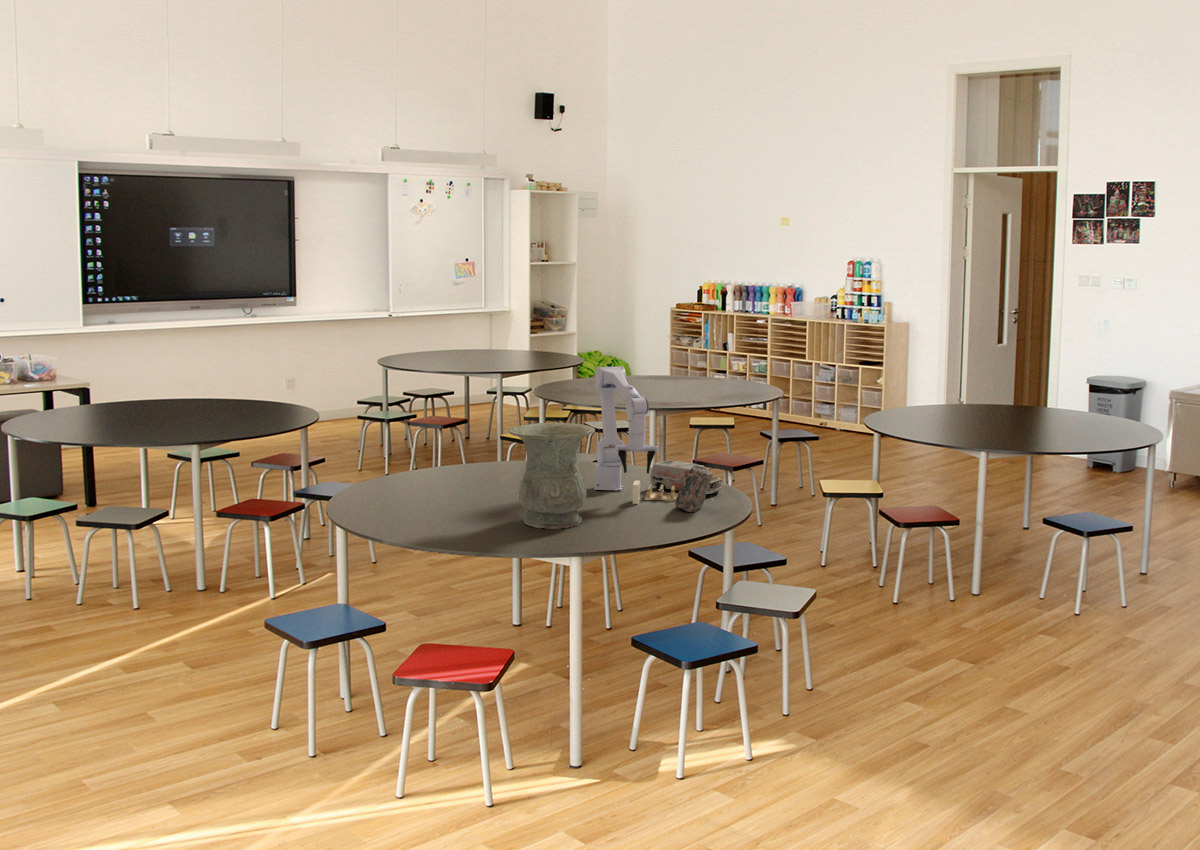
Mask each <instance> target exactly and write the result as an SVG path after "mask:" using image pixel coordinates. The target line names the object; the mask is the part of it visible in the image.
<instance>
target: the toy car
mask: <svg viewBox="0 0 1200 850" xmlns="http://www.w3.org/2000/svg"><path fill="white" fill-rule="evenodd" d="M694 465H699V466H701V467H704V468H706V466H704V465H703V464H702V465H701V464H697V463H692V462H685V461H679V460H670V459H669V460H667V459H666V460H664V461H659V462H655V463H654V464H653V465H652V467H651V471H650V473H649V474H650V477H649V478H650V479H649V480H650V483H649V485H650V484H652V487H656V490H657V489H660V487H661V484H663V485H664V491H666V490H667V491H668V490H671V489H672V486H673V485H675V491H679V490H680V489H681V487H682V485H683V483H684V481H685V479H686V478H687V476H688V474H689V472H690V470H691V468H692V467H693V466H694ZM720 490H722V478H720V476H715V475H713V477H712V479H711V482H710V484H709V487H708V489H707V493H706V495H708V494H709V495H710V494H714V495H715V494H716V495H717V494H719V492H720ZM667 491H666V492H667Z"/></svg>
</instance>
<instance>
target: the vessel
mask: <svg viewBox="0 0 1200 850" xmlns="http://www.w3.org/2000/svg"><path fill="white" fill-rule="evenodd" d="M595 432H596V429H595V427H593V426H590V425H588V424H582V423H570V422H539V423H537V422H536V423H532V424H531V423H530V424H522V425H516V426H513V427H510V428H508V433H509V434H510V435H512V436H515V437H518V438H520V440H522V442H523V445H524V447H525V452H526V464H525V471H524V473H523V474H524V475H523V477H522V479H521V480H520V486H519V490H518V501H519V503H520V504H521V506H522V508H524V509H525V510H527V513H526V515H524V517H522V519H523V520H522V521H523V524H525V525H526V526H528V527H531V526H532V527H533V528H536V529H541V528H545V529H544V530H562V529H561V528H565V529H570V528H569V527H571V528H574V527H573V526H575V527H577V525H578V526H580V525H581V524H582V523H583V518H582V516H581V515H580V514H578V513H579V512H578V510H579V509H581V508H582V507H583V506H584V505H585V504H586V501H587V489H586V484H585V480H584V479H583V477H582V475H581V472H580V469H579V462H578V451H579V446H580V444H581V443H580V442H581V441H582V440H583V439H584V438H585V437H587V436H590V435H592V434H594V433H595ZM581 522H582V523H581ZM580 523H581V524H580ZM579 524H580V525H579ZM532 527H531V528H532Z"/></svg>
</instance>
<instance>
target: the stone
mask: <svg viewBox="0 0 1200 850" xmlns="http://www.w3.org/2000/svg"><path fill="white" fill-rule="evenodd" d="M699 465H700V464H697V465H694V466H693V467H692V468H691V470H690V472H689V474H688V476H687V478H686V479H685V481H684V483H683V485H682V487H681V489H680V490H678V492H677V493H678V495H677V499H676V502H675V501H674V503H675V504H674V505H675V506H676V507H677V508H679V509H682V510H684V511H685V512H689V513H695V512H697V510H700V509H701V508H702V506H704V503H705V500H706V495H707V494H706V493H707V489H708V487H709V484H710V482H711V479H712V477H713V476H714V472H713V471H711V470H709V469H707V468H706V467H705V466H704V467H705V468H704V467H701V466H699ZM699 508H700V509H699Z"/></svg>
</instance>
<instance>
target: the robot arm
mask: <svg viewBox="0 0 1200 850" xmlns="http://www.w3.org/2000/svg"><path fill="white" fill-rule="evenodd" d="M626 377H627V373H626V369H625V367H624V366H623V365H619V366H602V367H601V366H597V368H596V369H595V373H594V386H595V391H597V392H599V397H600V398H599V399H600V408H601V423H602V435H603V437H602V438H601V440H599V441H598V442H597V443H596V452H595V458H596V461H597V463H598V464H595V466H594V467H595V468H594V491H595V490H618V489H622V490H623V488H624V485H622V468H623V473H624V474H626V473H627V470H628V467H627V456H628V455H627V454H628V452H636V453H637V452H639V453H641V452H642V453H647V454H646V460H647V461H646V474H650V470H651V469H650V468H651V465H652V461H653V459H654V457H655V455H656V453H659V449H660V448H659V447H660V446H659V445H650V444H646V431H647V429H646V419H647V417H646V416H647V414H648V413H649V409H650V404H649V401H648V400H649V399H648V398H647V397H646V396H641V395H640V394H639V392H638V391H637V389H636V387H634V386H633V385H630V384H629V382H628V381H627V379H626ZM616 391H619V397H620V398H621V400H622V401H623V403H624V404H625V411H626V418H627V420H628V444H625V442H624V441H623V440H622V439H621V438H619V437H618V431H617V430H618V429H617V418H616V417H617V416H616V407H615V393H616ZM621 487H623V488H621Z"/></svg>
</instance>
